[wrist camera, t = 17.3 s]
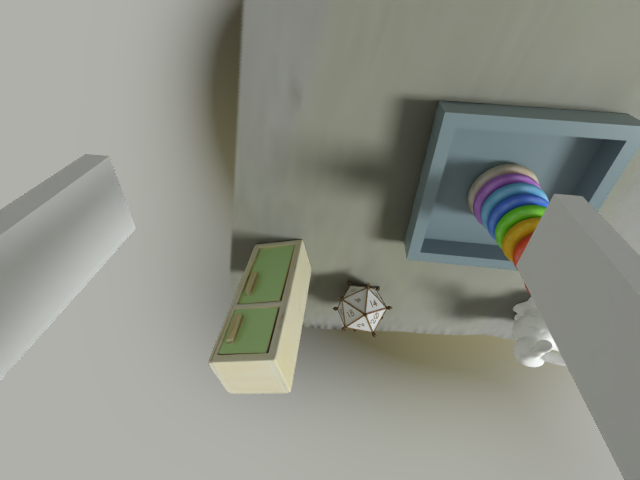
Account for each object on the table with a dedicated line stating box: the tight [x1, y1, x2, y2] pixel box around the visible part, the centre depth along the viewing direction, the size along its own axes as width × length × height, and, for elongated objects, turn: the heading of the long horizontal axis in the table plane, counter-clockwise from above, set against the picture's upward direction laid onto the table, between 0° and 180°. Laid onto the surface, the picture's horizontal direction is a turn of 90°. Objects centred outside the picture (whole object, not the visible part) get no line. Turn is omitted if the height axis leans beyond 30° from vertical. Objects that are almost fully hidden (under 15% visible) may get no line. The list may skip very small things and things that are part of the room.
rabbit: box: [512, 296, 567, 367], centre depth 51 cm, size 12×9×12 cm
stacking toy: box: [468, 164, 549, 295], centre depth 36 cm, size 8×8×19 cm
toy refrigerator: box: [209, 240, 311, 394], centre depth 46 cm, size 8×7×21 cm
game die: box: [333, 281, 392, 338], centre depth 55 cm, size 9×8×10 cm
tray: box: [404, 101, 640, 270], centre depth 42 cm, size 20×20×4 cm
